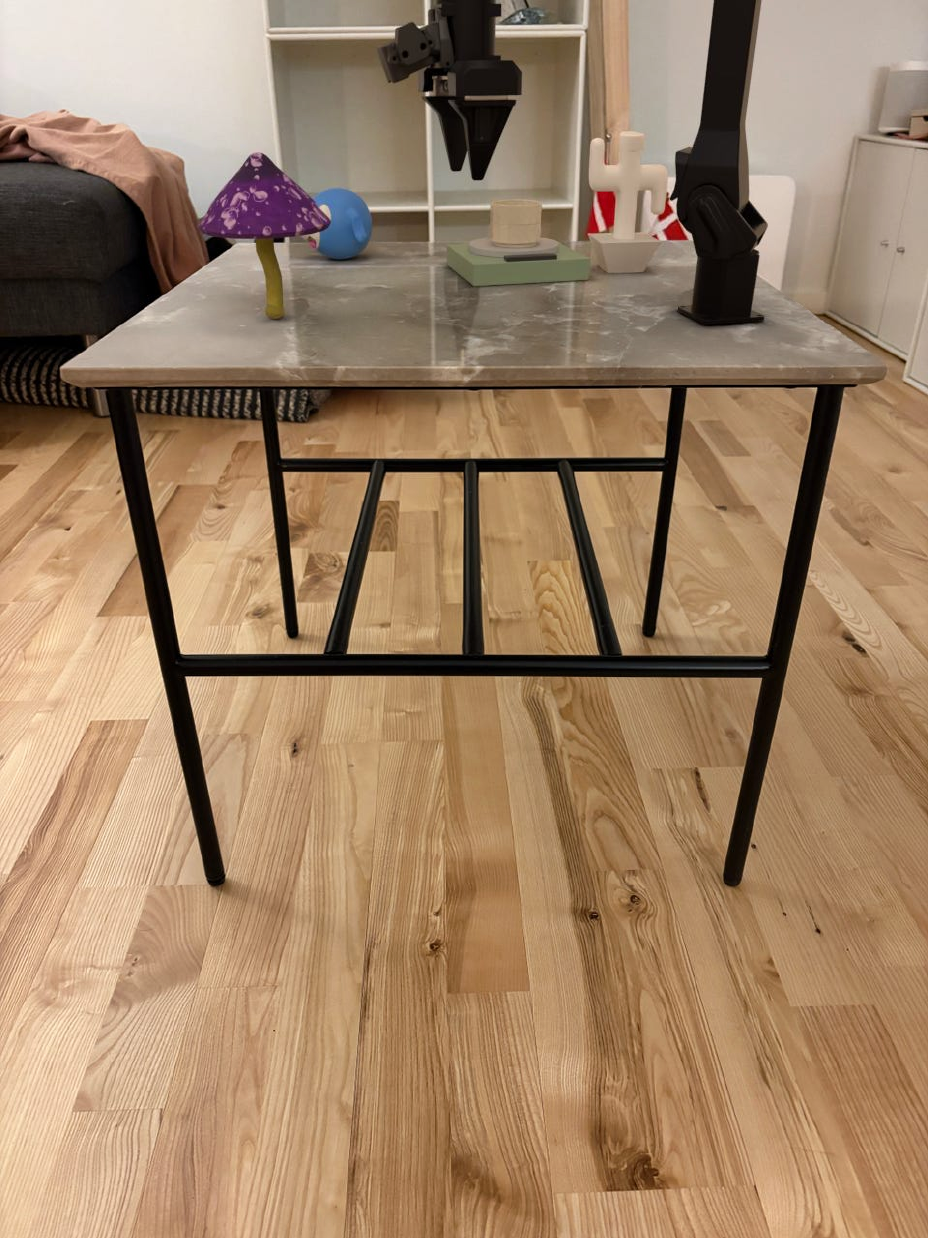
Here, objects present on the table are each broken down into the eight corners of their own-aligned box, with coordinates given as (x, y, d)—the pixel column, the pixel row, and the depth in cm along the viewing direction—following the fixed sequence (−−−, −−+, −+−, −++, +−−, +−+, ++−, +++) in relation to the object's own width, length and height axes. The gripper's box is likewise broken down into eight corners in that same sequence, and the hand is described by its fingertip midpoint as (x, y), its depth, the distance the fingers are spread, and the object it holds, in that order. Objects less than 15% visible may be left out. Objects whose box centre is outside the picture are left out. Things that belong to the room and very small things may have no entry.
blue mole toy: (266, 260, 120) (258, 189, 116) (341, 249, 127) (336, 182, 123) (317, 272, 113) (311, 197, 108) (394, 260, 119) (391, 189, 115)
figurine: (667, 273, 111) (681, 132, 103) (590, 276, 110) (598, 134, 102) (650, 262, 117) (662, 129, 109) (577, 264, 116) (584, 130, 108)
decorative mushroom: (204, 311, 95) (180, 149, 88) (322, 300, 99) (309, 144, 91) (221, 339, 85) (195, 159, 78) (352, 327, 89) (340, 154, 81)
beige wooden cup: (546, 246, 109) (548, 204, 106) (498, 249, 108) (498, 206, 105) (531, 239, 114) (533, 198, 111) (485, 241, 113) (485, 200, 110)
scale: (589, 279, 108) (591, 250, 106) (473, 286, 105) (473, 256, 103) (551, 259, 120) (552, 232, 118) (446, 264, 117) (446, 237, 115)
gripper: (365, -3, 93) (374, 169, 101) (398, -17, 77) (405, 188, 85) (473, -2, 95) (473, 166, 103) (525, -16, 79) (521, 184, 87)
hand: (466, 175), depth 94 cm, fingers open, 9 cm apart
